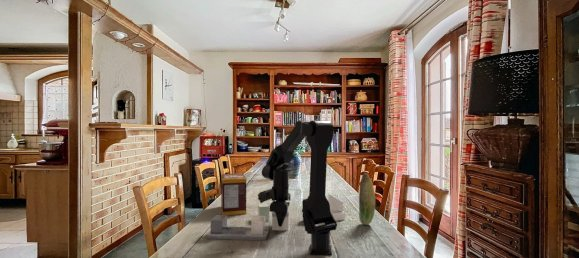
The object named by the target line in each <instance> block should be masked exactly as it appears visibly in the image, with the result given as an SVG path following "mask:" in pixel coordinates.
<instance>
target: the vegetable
mask: <svg viewBox="0 0 579 258" xmlns="http://www.w3.org/2000/svg"><path fill="white" fill-rule="evenodd" d="M358 196H359V197H358V202H359V203H358V204H359V206H358V208H359V209H358V213H359V214H358V217H359V221H360V223H361V224H362V225H364V226H367V225H370V224H372V221H373V220H374V216H375V209H376V193H375V188H374V184H373V181H372V179H371V178H370V175H369V174H368V173H362V175H361V180H360V182H359V191H358Z"/></svg>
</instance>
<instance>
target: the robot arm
mask: <svg viewBox="0 0 579 258" xmlns="http://www.w3.org/2000/svg"><path fill="white" fill-rule="evenodd" d="M334 135H335V126H334V125H333V124H332V122H331V121H330V120H301V119H300V120H297V121H296V122H295V124H294V127H293V128H292V130H291V131H290V133H288V135H287V137H286V138H285V140H284V141H283V142H282V143H280V144H279V145H277V146H275V147H274V148H273V149H272V150H271V151H270V154H269V155H268V159H267V161H266V162H265V165H264V166H263V167H262V170H261V176H262V177H263V178H264V179H267V180H270V181H273V182H272V186H271V188H269V189H266V190H262V191H259V193H258V194H257V200H258V201H259V204H264V203H265V202H267V201H269V200H271V202H270V204H269V213H270V212H271V213H272V212H275V213H276V217H277V221H278V225H279V226H282V224H283V221H284V219H285V216H286V214H287V211H288V209H289V206H290V201H291V197H292V196H291V193H290V192H289V187H290V184H289V181H290V180H289V174H290V173H289V172H292V168H291V167H289V165H290V163H291V162H292V160H293V159H294V151H295V150H296V149H297V148H298V146H299V145H300V144H301V143H302V142H303V140H304V139H306V143H307V144H308V146H309V148H310V165H309V166H310V169H309V194H308V196H307V198H304V199H302V207H301V213H302V215H301V216H302V223H303V222H304V223H303V226H304V231H305V232H307V233H306V234H308V235H309V234H310V237H311V239H310V244H309V255H313V256H314V255H316V256H317V255H318V256H319V255H320V256H322V255H324V256H332V255H333V251H332V247H331V232H332V231H336V230H337V227H338V223H337V221H335V219H334V217H333V215H332V214H331V212H330V204H329V202H328V198H327V197H326V192H327V191H326V188H327V185H326V184H327V165H328V163H327V161H328V149H329V148H330V146H331V145H332V143H333V139H334Z"/></svg>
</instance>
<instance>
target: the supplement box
mask: <svg viewBox="0 0 579 258" xmlns="http://www.w3.org/2000/svg"><path fill="white" fill-rule="evenodd" d="M220 178H221V180H220V181H221V184H220V185H221V188H220V189H221V190H220V192H221V193H220V194H221V199H220V200H221V204H220V205H221V206H220V208H221V215H227V216H232V215H233V216H235V215H246V214H247V178H246V176H245V175H244V173H223V174H222V173H221V177H220Z"/></svg>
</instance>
